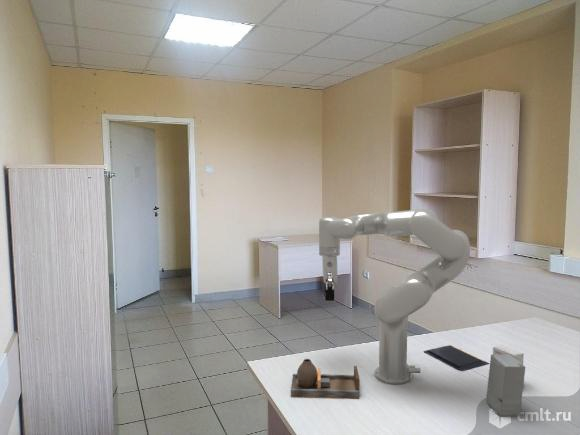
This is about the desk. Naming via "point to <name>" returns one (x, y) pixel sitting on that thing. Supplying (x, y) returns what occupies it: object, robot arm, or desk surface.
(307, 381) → the vase
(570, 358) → the desk surface
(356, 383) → the tray
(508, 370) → the skincare box
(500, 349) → the ink box
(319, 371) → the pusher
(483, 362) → the wallet
